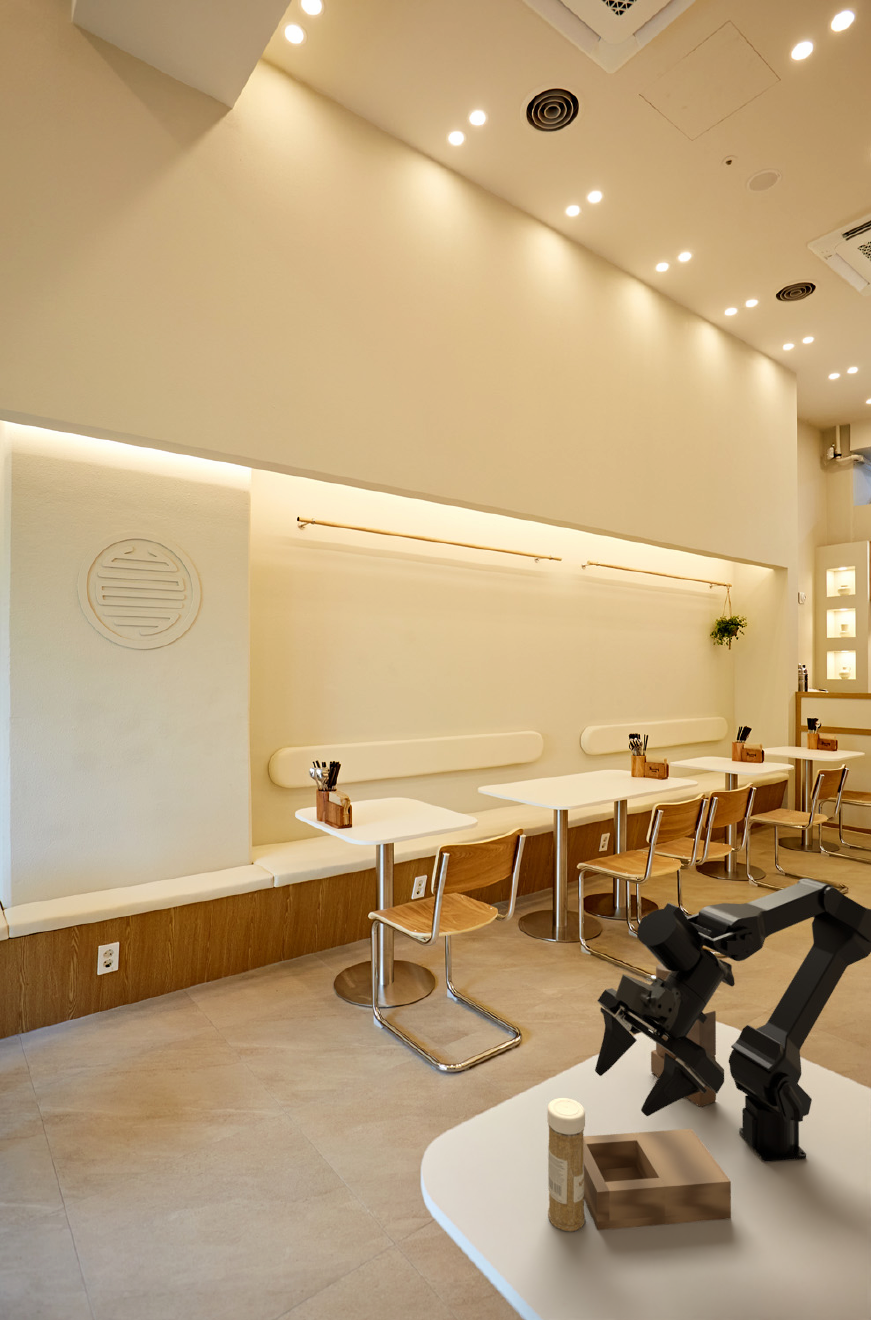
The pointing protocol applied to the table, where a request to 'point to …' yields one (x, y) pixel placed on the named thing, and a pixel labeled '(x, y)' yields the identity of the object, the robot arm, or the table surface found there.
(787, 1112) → the robot arm
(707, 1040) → the wooden block
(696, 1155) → the wooden bottle holder
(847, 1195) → the table surface
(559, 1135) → the sprinkles bottle
